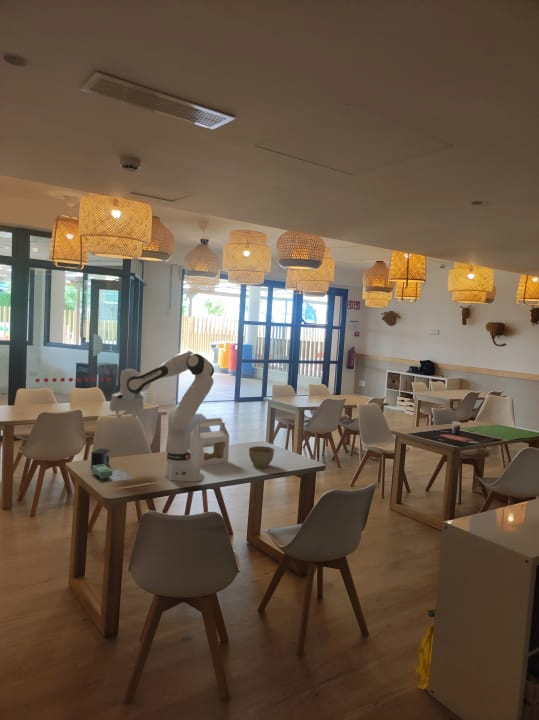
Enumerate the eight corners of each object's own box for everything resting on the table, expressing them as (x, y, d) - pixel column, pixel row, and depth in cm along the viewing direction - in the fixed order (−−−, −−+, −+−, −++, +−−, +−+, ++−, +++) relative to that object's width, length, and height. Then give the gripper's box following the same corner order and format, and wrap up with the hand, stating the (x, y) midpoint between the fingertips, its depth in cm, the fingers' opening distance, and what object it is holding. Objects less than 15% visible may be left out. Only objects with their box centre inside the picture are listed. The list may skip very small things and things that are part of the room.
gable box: (197, 466, 321) (199, 421, 319) (188, 461, 331) (190, 418, 329) (228, 462, 334) (230, 419, 332) (218, 457, 344) (220, 415, 342)
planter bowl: (256, 461, 339) (256, 444, 339) (277, 465, 332) (278, 448, 331) (243, 466, 325) (244, 449, 324) (265, 471, 318) (266, 453, 317)
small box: (100, 470, 301) (101, 453, 300) (90, 469, 302) (90, 452, 302) (109, 466, 311) (110, 449, 311) (99, 465, 313) (100, 448, 312)
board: (112, 475, 285) (112, 470, 284) (100, 477, 281) (100, 472, 280) (103, 469, 296) (103, 464, 295) (92, 470, 292) (92, 465, 292)
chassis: (133, 480, 287) (133, 470, 286) (102, 484, 276) (102, 474, 276) (119, 470, 303) (120, 461, 302) (90, 474, 292) (90, 465, 292)
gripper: (141, 393, 323) (140, 415, 324) (109, 395, 310) (108, 417, 311) (145, 395, 318) (144, 417, 319) (112, 396, 305) (112, 419, 306)
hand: (126, 417), depth 315 cm, fingers open, 8 cm apart
